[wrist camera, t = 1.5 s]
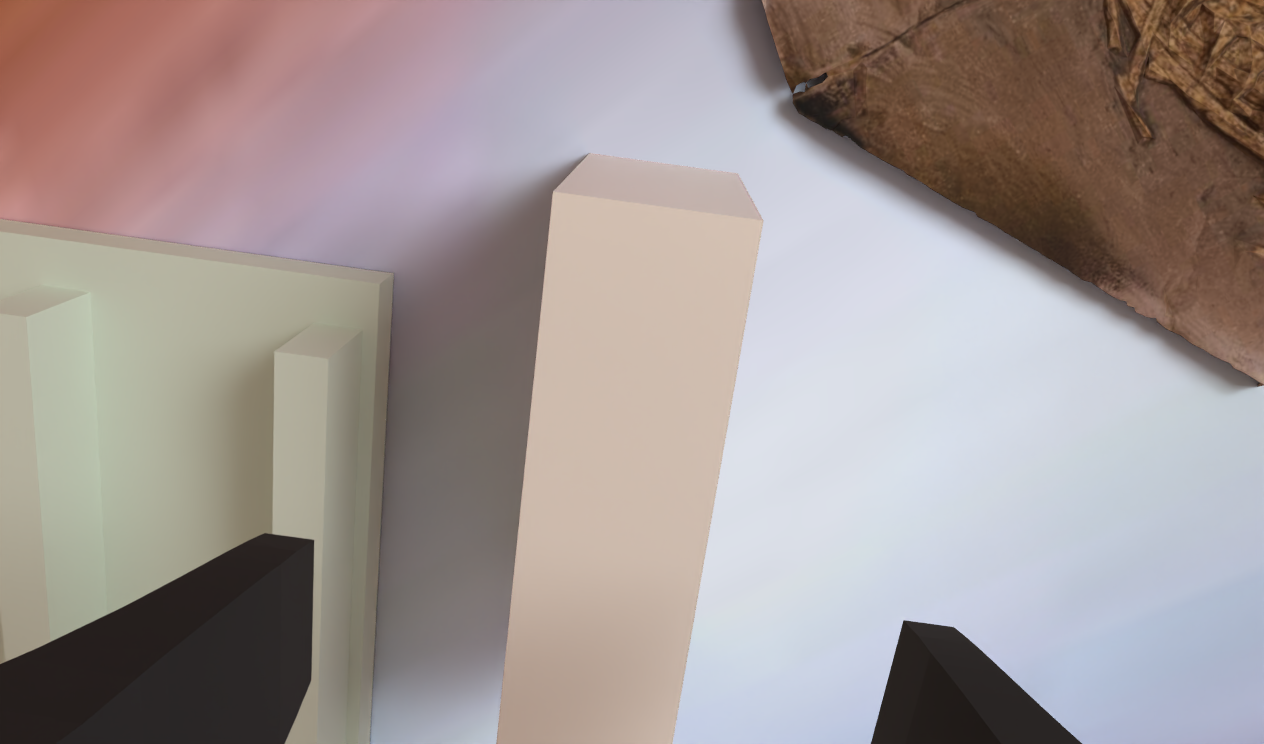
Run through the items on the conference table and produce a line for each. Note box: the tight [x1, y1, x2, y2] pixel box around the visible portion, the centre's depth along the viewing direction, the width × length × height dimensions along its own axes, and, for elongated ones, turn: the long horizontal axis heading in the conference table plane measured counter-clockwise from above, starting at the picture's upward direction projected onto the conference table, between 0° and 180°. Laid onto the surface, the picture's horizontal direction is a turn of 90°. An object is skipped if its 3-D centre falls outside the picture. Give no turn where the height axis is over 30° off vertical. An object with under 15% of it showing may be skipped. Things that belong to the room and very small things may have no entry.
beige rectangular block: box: [496, 153, 763, 744], centre depth 18 cm, size 10×3×6 cm, turn 173°
